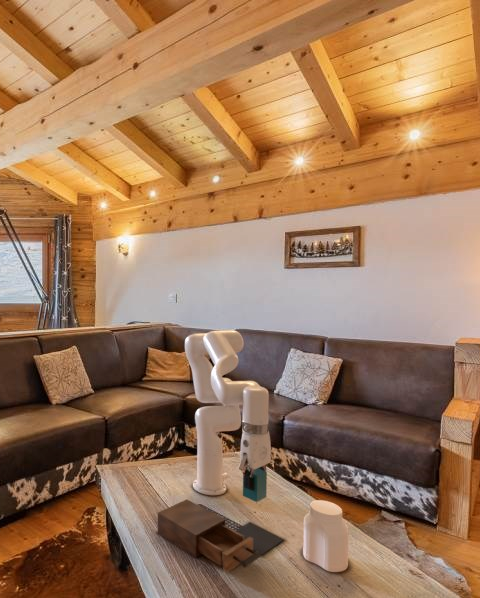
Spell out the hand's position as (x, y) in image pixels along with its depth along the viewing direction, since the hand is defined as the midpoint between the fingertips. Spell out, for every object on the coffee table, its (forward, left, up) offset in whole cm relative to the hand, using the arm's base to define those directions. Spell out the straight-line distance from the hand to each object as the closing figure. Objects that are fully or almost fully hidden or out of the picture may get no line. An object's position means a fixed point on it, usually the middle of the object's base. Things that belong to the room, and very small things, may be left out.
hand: (254, 485), depth 130 cm
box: (0, 0, -3) cm, 3 cm away
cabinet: (+14, -13, -17) cm, 26 cm away
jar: (-8, +18, -17) cm, 26 cm away
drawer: (+14, 0, -16) cm, 21 cm away
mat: (-1, 0, -17) cm, 17 cm away
